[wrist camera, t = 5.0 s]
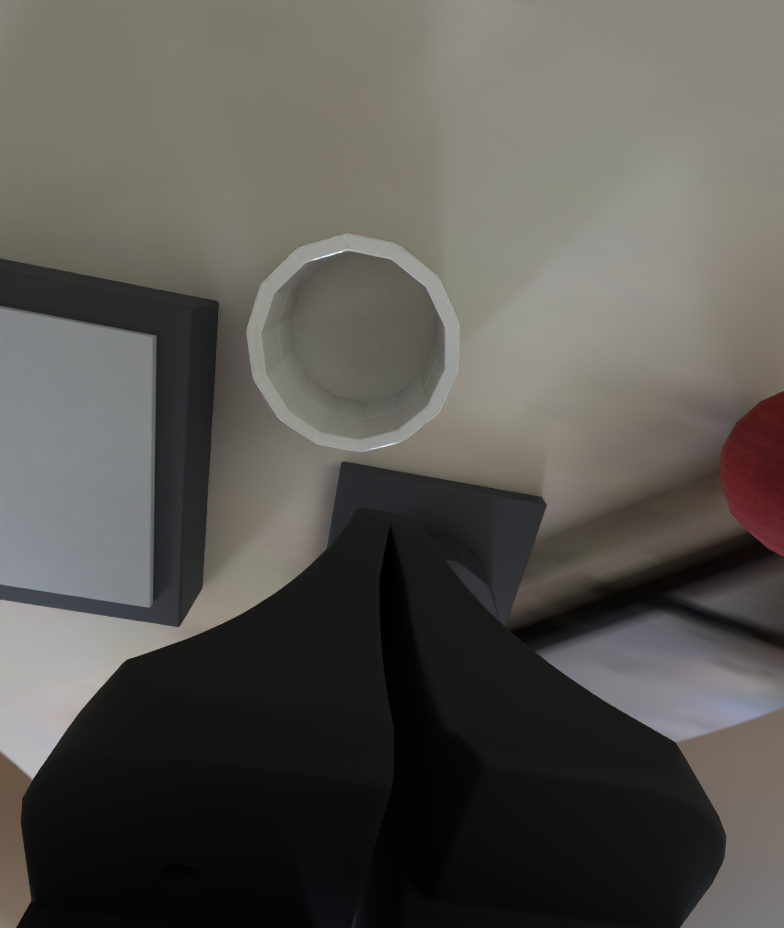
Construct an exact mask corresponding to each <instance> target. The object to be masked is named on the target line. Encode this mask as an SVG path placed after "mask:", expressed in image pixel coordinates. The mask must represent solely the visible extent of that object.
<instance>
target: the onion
mask: <svg viewBox="0 0 784 928" xmlns="http://www.w3.org/2000/svg"><path fill="white" fill-rule="evenodd" d="M719 474H720V479H721V485H722V488H723V491H724V494H725V497H726V500H727V503H728V506H729V509H730V512H731V514H732V515H733V516H734V517H735V518H736V519H737V520H738V521H739V522H740V524H741V525H742V526H743V527H744V528H745V529H746V530H747V531H749V532H750V533H751V534H752V535H753V536H754V537H755V538H757V539H758V540H759V541H760V542H761V543H762V544H764V545H765V546H766V547H767V548H768V549H770V550H772V551H774V552H776V553H778V554H780V555H782V556H783V557H784V391H783V392H780V393H778V394H776V395H774V396H772V397H769V398H767V399H765V400H763V401H761V402H759V403H758V404H757V405H756V406H755V407H754V408H753V409H752V410H750V411H749V412H748V413H747V414H746V415H745V416H744V417H743V418H741V419H740V420H739V421H738V422H737V423H736V425H735V426H734V428H733V430H732V432H731V433H730V435H729V437H728V439H727V441H726V442H725V444H724V446H723V448H722V455H721V462H720V470H719Z"/></svg>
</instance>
